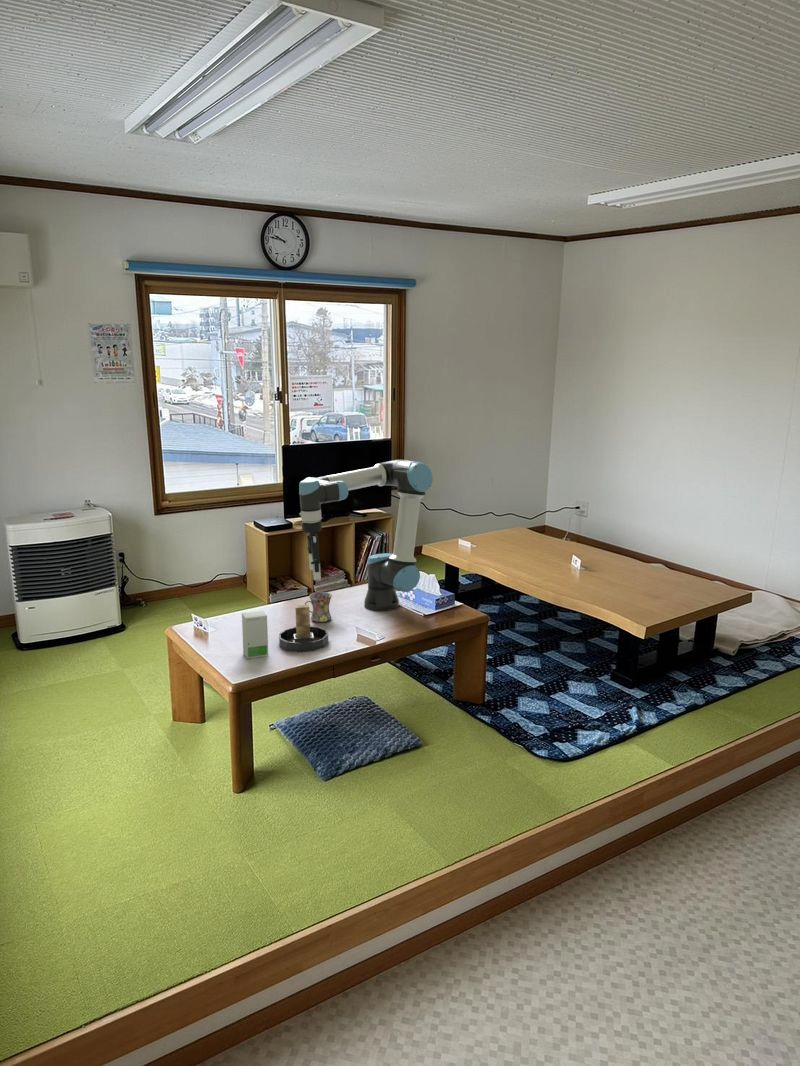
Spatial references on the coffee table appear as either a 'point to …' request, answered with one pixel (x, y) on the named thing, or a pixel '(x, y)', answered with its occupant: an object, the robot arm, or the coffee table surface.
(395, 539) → the robot arm
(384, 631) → the coffee table surface
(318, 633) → the dark grey round tray
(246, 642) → the skincare box
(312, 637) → the wick clip
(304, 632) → the brown cardboard box
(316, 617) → the mug
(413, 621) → the coffee table surface
